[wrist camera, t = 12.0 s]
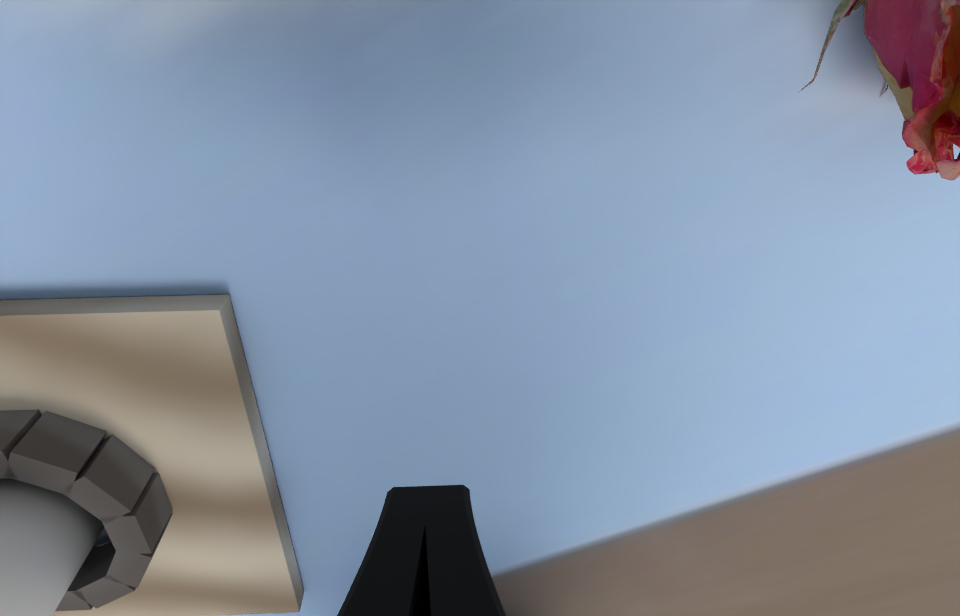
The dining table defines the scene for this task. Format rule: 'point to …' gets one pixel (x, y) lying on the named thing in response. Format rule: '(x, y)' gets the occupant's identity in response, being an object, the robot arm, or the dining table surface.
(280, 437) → the dining table surface
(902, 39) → the flower
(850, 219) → the dining table surface
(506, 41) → the dining table surface
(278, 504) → the tan square tray
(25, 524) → the grey capped cylinder
